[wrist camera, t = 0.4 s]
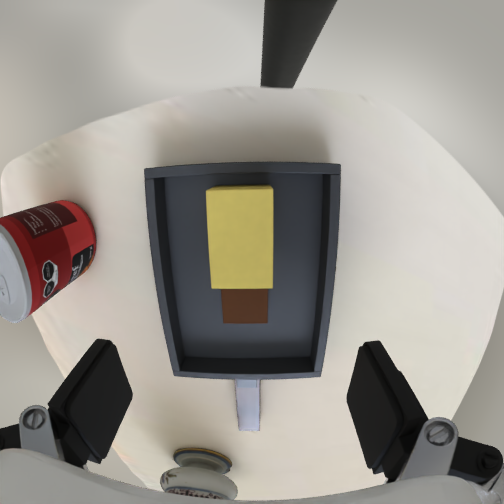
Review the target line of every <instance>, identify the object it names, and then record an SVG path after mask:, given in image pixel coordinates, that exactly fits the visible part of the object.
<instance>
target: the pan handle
mask: <svg viewBox="0 0 504 504" xmlns="http://www.w3.org/2000/svg"><path fill="white" fill-rule="evenodd" d="M235 391H236V403H237V415H238V427H239V431H260V380H241V379H235Z"/></svg>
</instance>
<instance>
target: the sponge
mask: <svg viewBox="0 0 504 504" xmlns="http://www.w3.org/2000/svg"><path fill="white" fill-rule="evenodd" d="M206 207H207V228H208V245H209V261H210V275H211V288H212V289H261V288H273V188H272V187H271V186H270V185H221V186H214V187H212V188H210V189H208V190H206Z"/></svg>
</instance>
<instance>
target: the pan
mask: <svg viewBox="0 0 504 504" xmlns="http://www.w3.org/2000/svg"><path fill="white" fill-rule="evenodd" d="M340 174H341V165H340V164H331V163H308V162H231V163H208V164H191V165H177V166H166V167H155V168H145V169H144V175H145V193H146V207H147V219H148V229H149V238H150V247H151V255H152V263H153V270H154V277H155V284H156V290H157V296H158V302H159V308H160V314H161V319H162V324H163V329H164V334H165V339H166V344H167V348H168V353H169V357H170V362H171V366H172V370H173V374H174V376H180V377H193V378H209V379H241V380H263V379H294V378H311V377H321V372H322V367H323V361H324V355H325V349H326V343H327V336H328V329H329V322H330V315H331V307H332V298H333V289H334V280H335V270H336V258H337V245H338V230H339V212H340V181H341V175H340ZM221 185H270V186H271V187H272V188H273V288H268V323H267V324H224V323H223V314H222V300H221V289H212V288H211V275H210V261H209V245H208V228H207V207H206V190H208V189H210V188H212V187H214V186H221Z"/></svg>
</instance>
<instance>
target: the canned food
mask: <svg viewBox="0 0 504 504" xmlns="http://www.w3.org/2000/svg"><path fill="white" fill-rule="evenodd" d="M95 250H96V237H95V232H94V228H93V225H92V223H91V220H90V218H89V217H88V215H87V214H86V212H85V211H84V210H83V209H82V208H81V207H80V206H78V205H77V204H75V203H73V202H69V201H64V200H60V201H55V202H51V203H48V204H44V205H40V206H37V207H33V208H30V209H26V210H23V211H20V212H17V213H13V214H10V215H7V216H4V217H1V218H0V315H1V316H2V317H3V318H4V319H6V320H7V321H9V322H13V323H18V322H20V321H22V320H23V319H25V318H27V317H28V316H29V315H30V314H32V313H33V312H34V311H36V310H37V309H38V308H39V307H40V306H42V305H43V304H44V303H45V302H47V301H48V300H49V299H50V298H52V297H53V296H54V295H55V294H57V293H58V292H59V291H61V290H62V289H63V288H65V287H66V286H67V285H68V284H70V283H71V282H72V281H74V280H75V279H76V278H78V277H79V276H80V275H82V274H83V273H84V272H85V271H86V270H87V269H88V268H89V266H90V264H91V262H92V261H93V258H94V255H95Z"/></svg>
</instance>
